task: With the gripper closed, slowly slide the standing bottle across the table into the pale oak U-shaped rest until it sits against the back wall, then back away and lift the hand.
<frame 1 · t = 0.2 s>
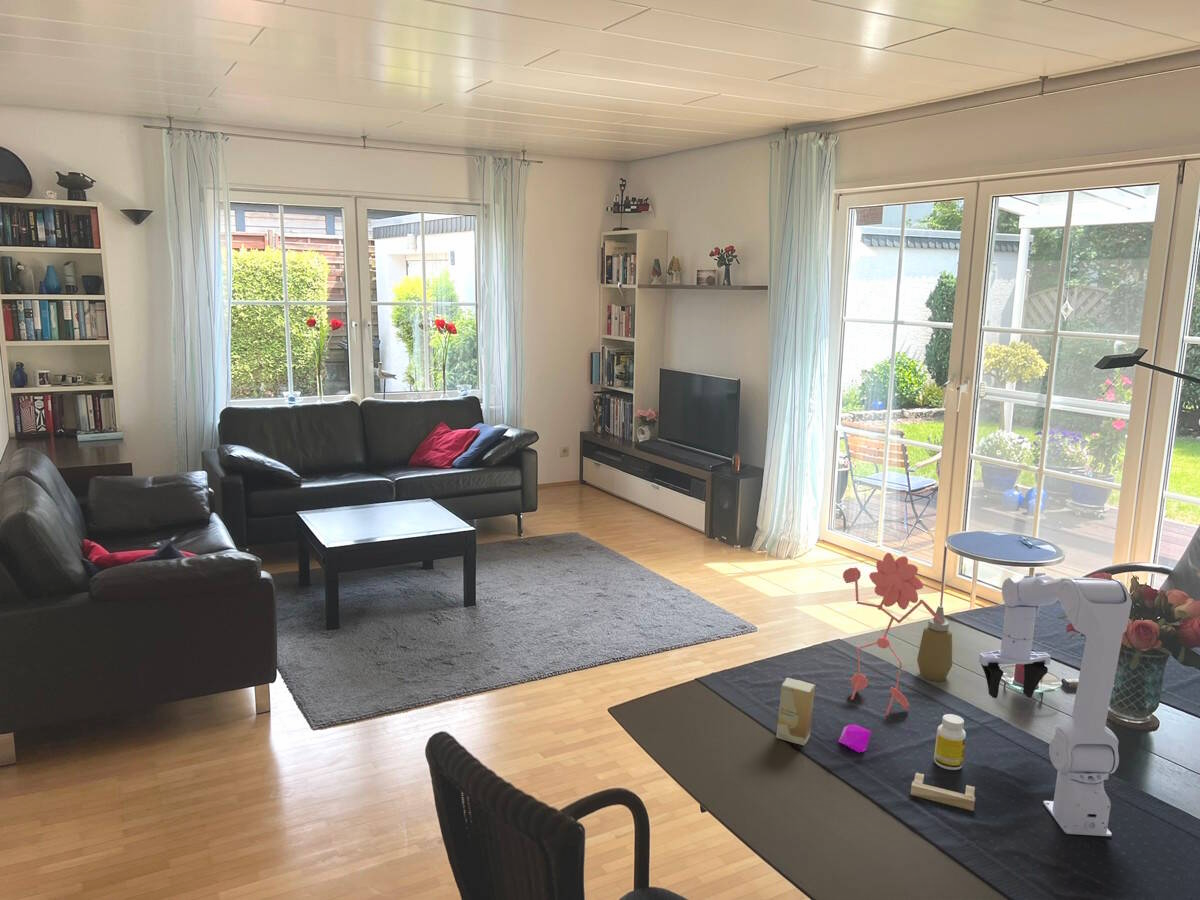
hand: (1010, 695, 185), 10 cm above the table, tool pointing down, fingers open, 7 cm apart
figurine: (885, 700, 203), on the table
skincare box: (793, 738, 185), on the table
supplement bottle: (947, 764, 177), on the table
crystal: (853, 747, 182), on the table
u rest: (944, 788, 168), on the table
squeeze bottle: (932, 677, 216), on the table
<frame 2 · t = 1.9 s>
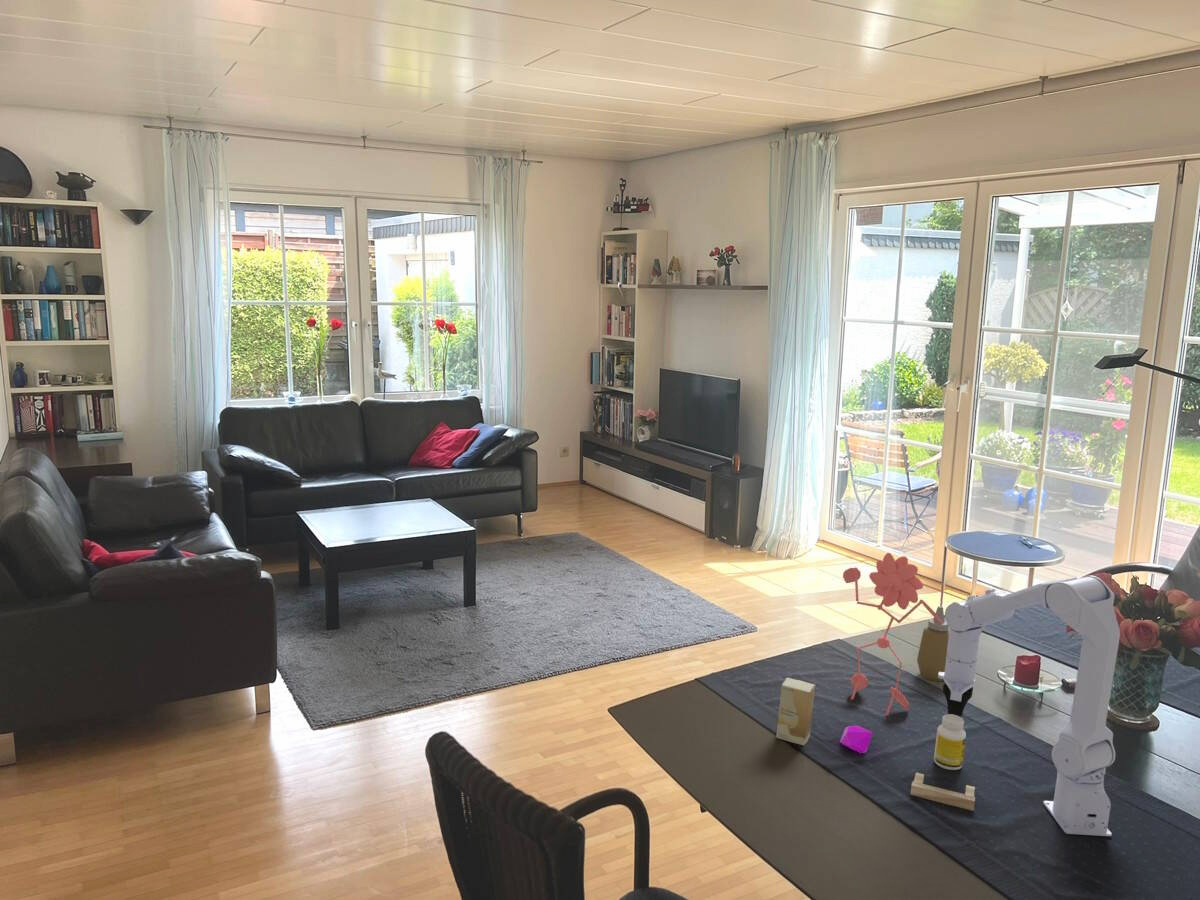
hand: (954, 718, 182), 6 cm above the table, tool pointing down, fingers closed
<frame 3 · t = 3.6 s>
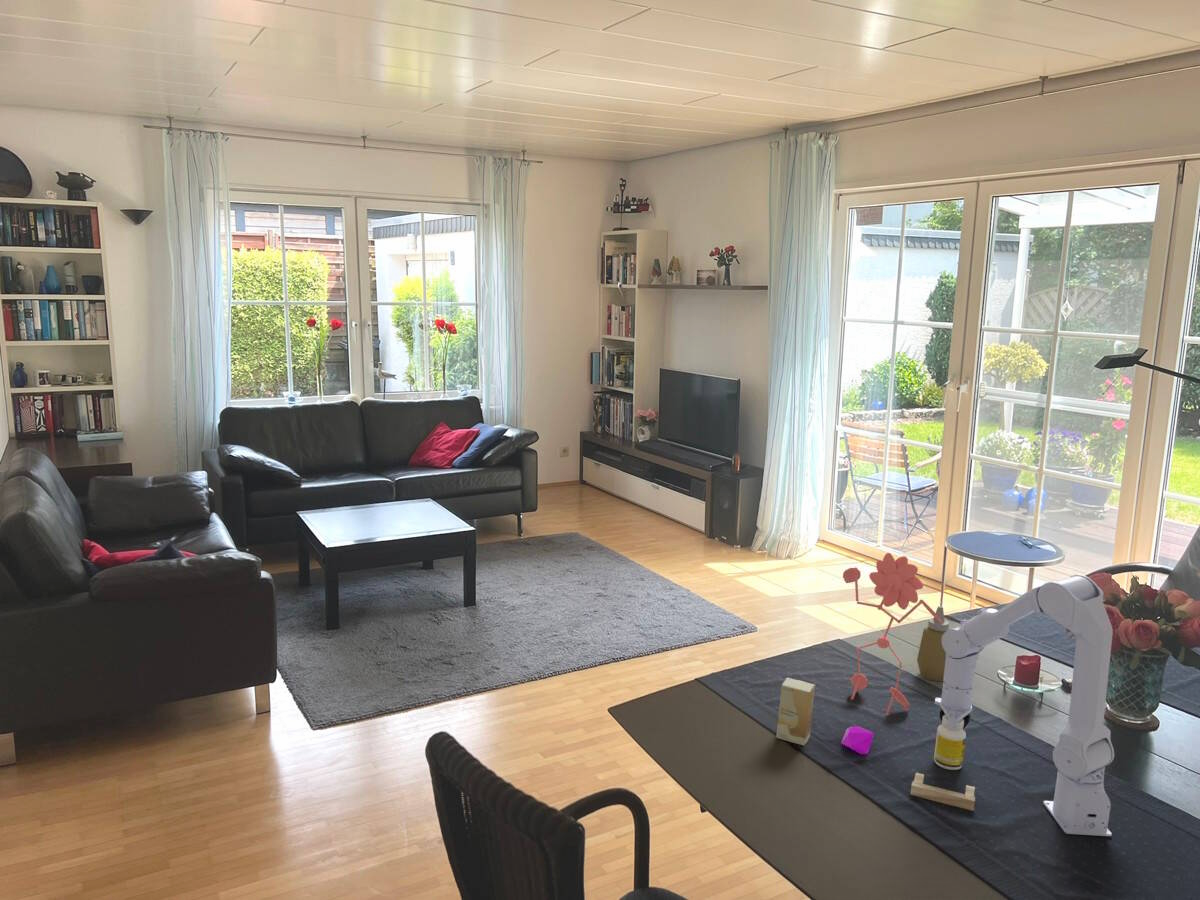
hand: (951, 745, 181), 2 cm above the table, tool pointing down, fingers closed
supplement bottle: (947, 764, 177), on the table, touching gripper
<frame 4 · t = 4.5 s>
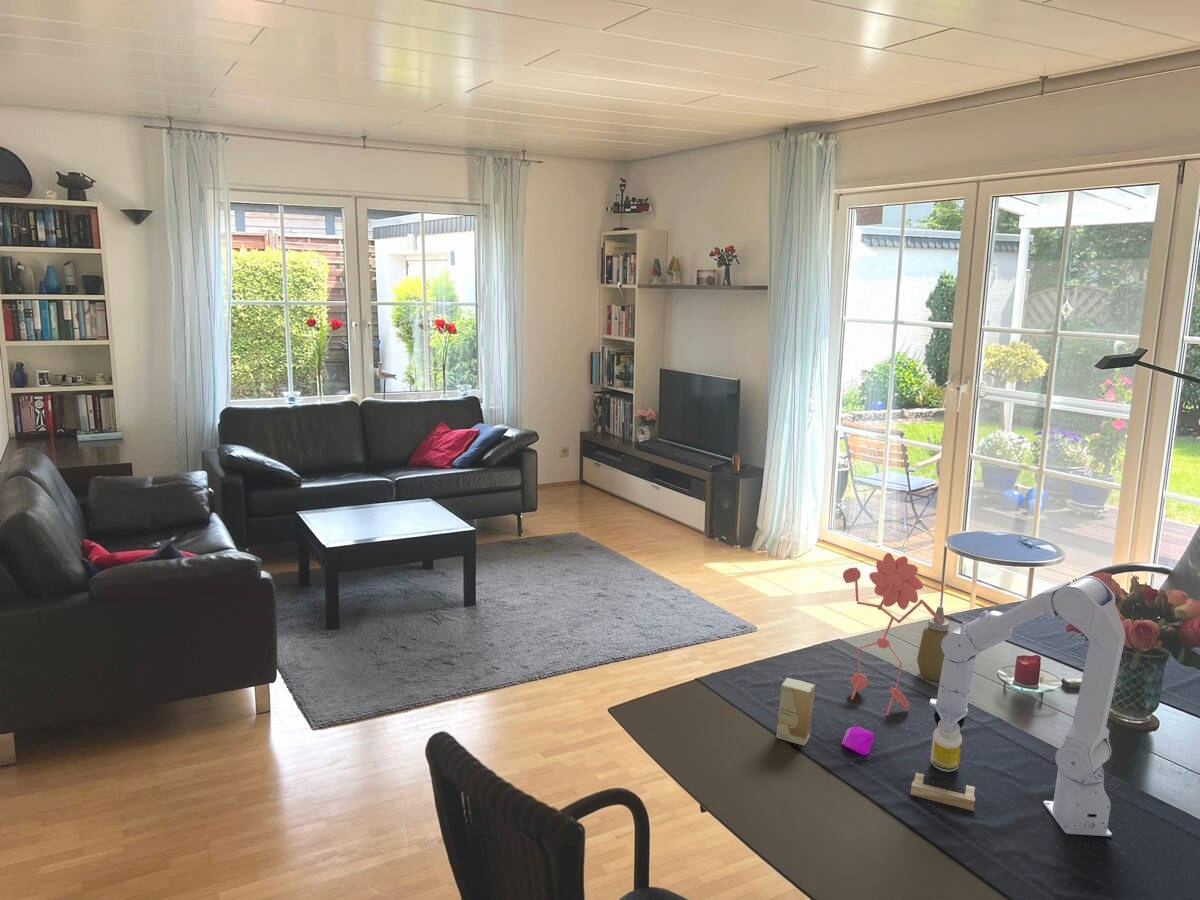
hand: (944, 746, 177), 3 cm above the table, tool pointing down, fingers closed, pressing on supplement bottle
supplement bottle: (944, 762, 176), point 1 cm above the table, touching gripper
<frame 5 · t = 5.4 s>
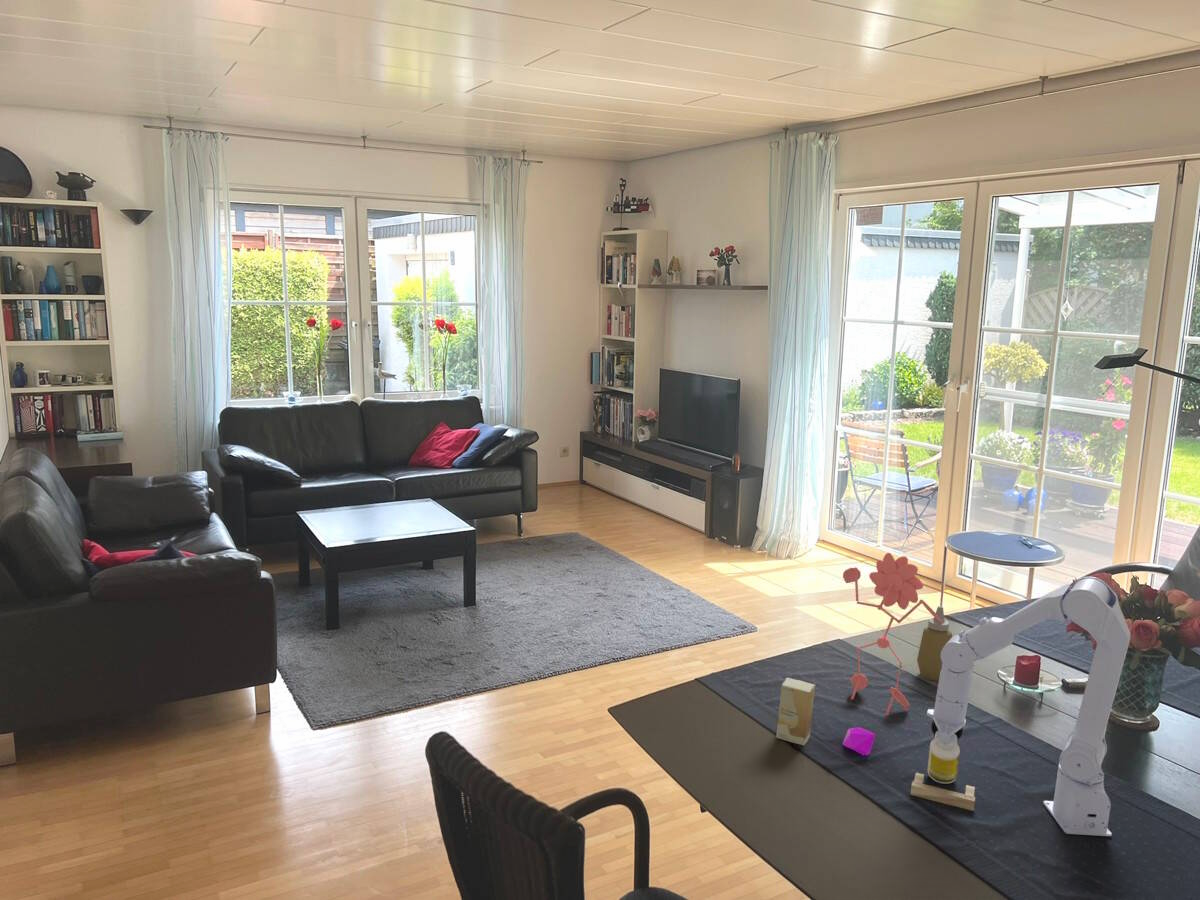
hand: (941, 758, 173), 3 cm above the table, tool pointing down, fingers closed, pressing on supplement bottle
supplement bottle: (942, 774, 171), point 1 cm above the table, touching gripper
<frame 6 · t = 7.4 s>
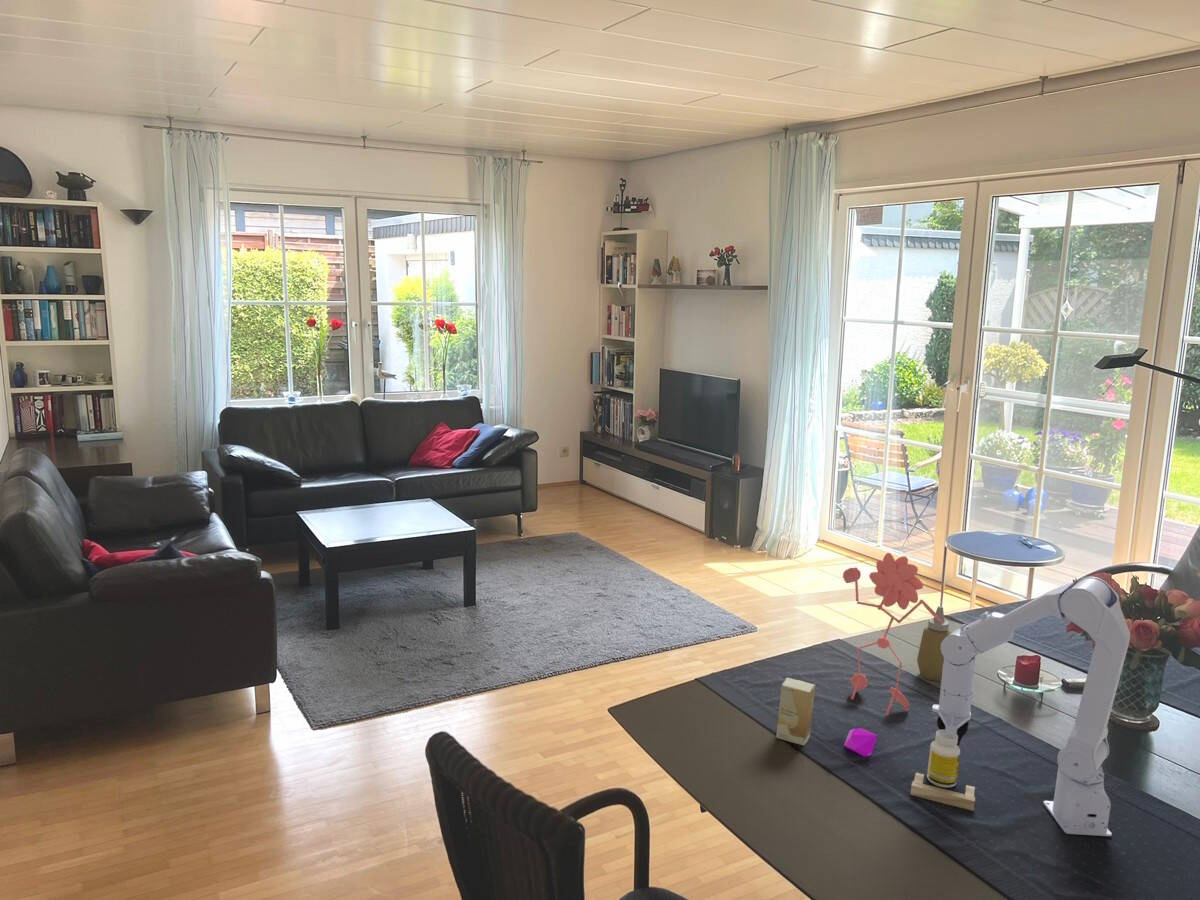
hand: (949, 753, 174), 3 cm above the table, tool pointing down, fingers closed
supplement bottle: (941, 781, 170), on the table
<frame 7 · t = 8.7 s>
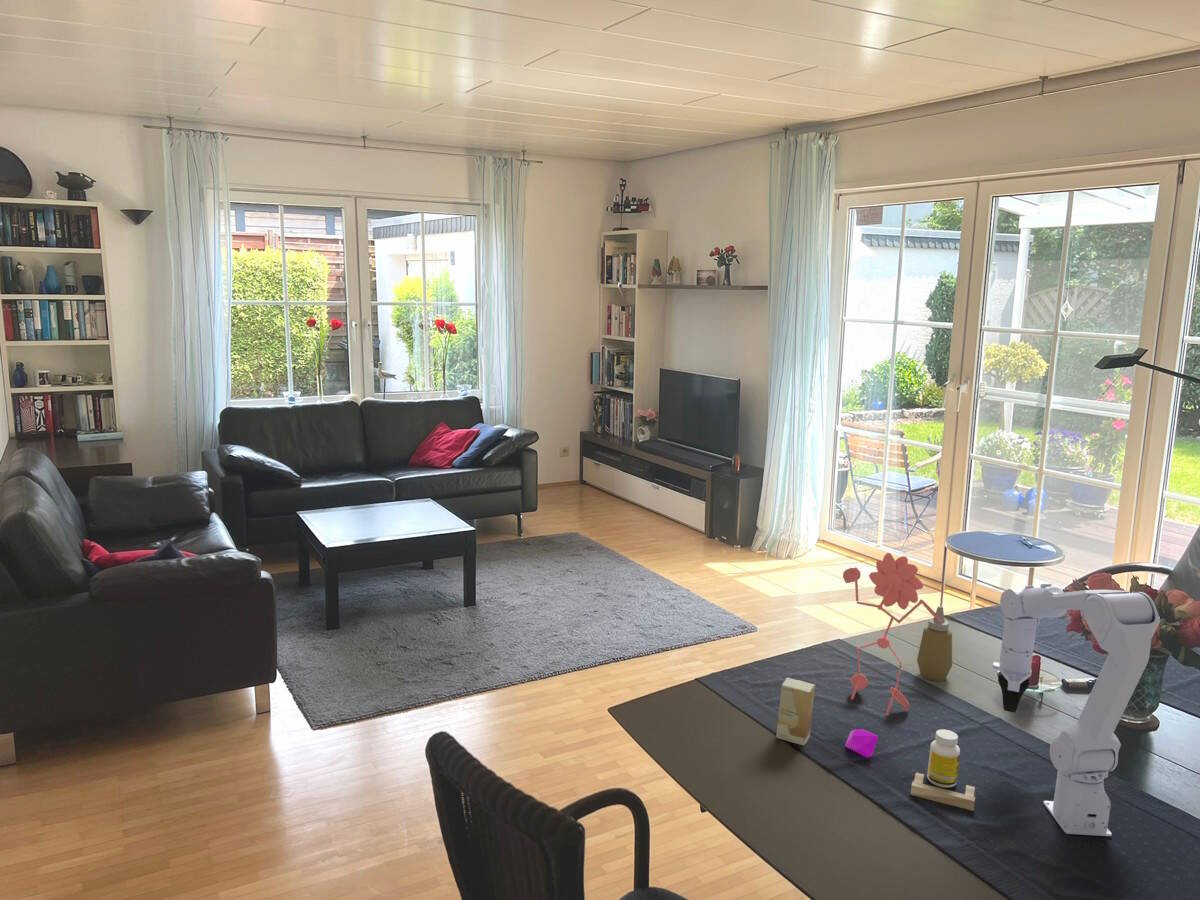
hand: (1009, 710, 177), 10 cm above the table, tool pointing down, fingers closed
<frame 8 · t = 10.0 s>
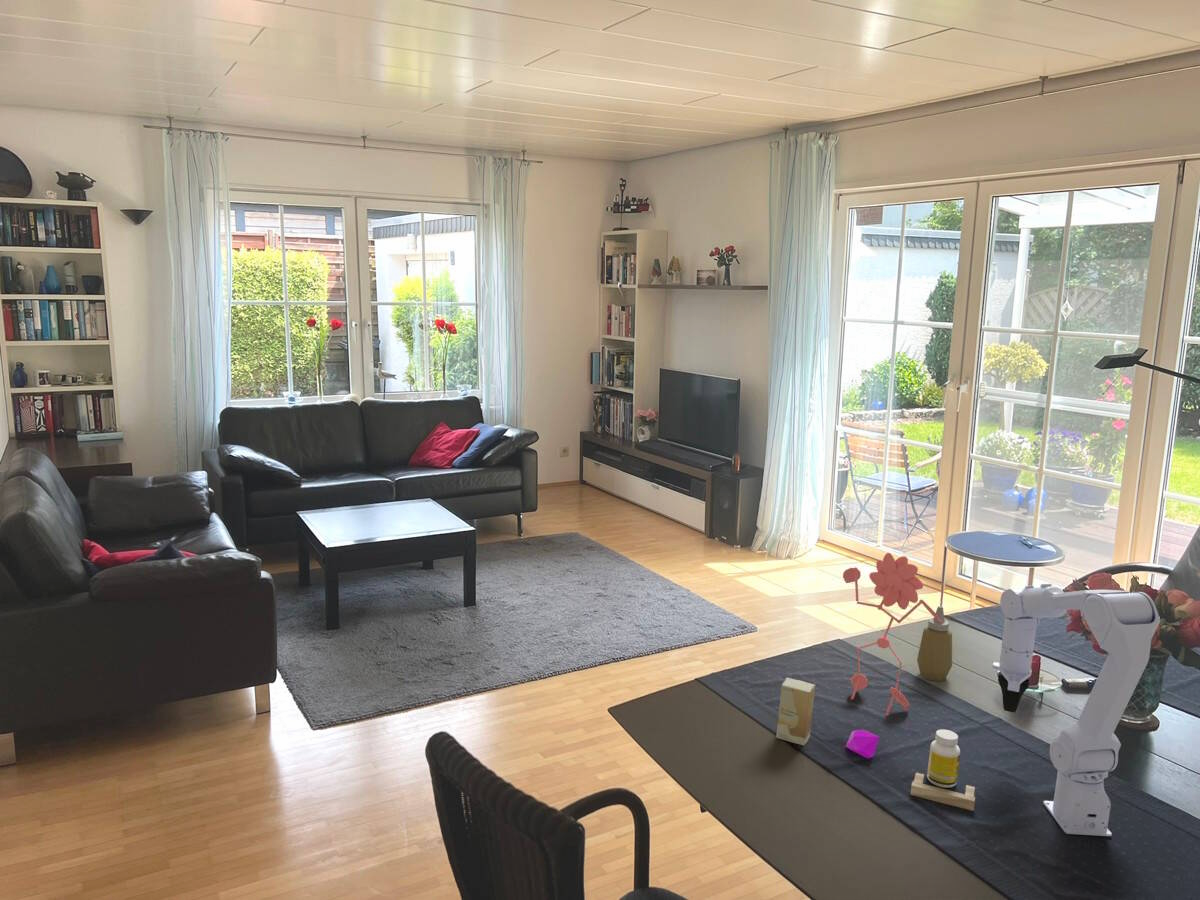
hand: (1009, 710, 177), 10 cm above the table, tool pointing down, fingers closed
at the end: supplement bottle 2.7 cm off-centre on the u rest, point 0.0 cm above the u rest's base; supplement bottle tilted 0°; supplement bottle moved 7.4 cm from its start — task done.
